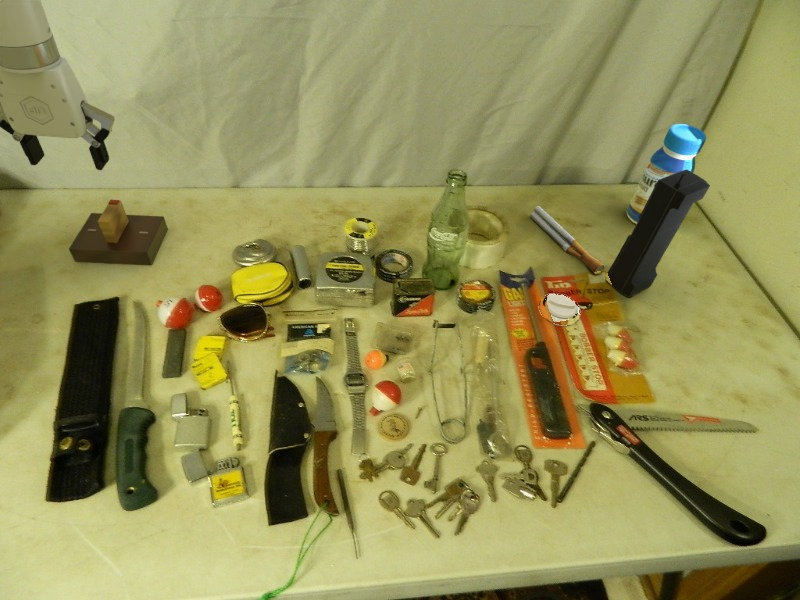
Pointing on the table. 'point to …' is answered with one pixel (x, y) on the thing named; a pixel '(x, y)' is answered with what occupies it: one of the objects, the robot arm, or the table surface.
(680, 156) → the beverage bottle
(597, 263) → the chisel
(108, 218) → the light wood flat block
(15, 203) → the table surface
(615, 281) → the black long block
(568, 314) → the stove knob
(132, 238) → the dark brown flat block
